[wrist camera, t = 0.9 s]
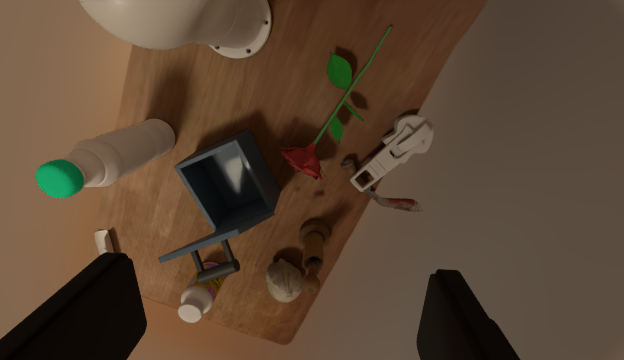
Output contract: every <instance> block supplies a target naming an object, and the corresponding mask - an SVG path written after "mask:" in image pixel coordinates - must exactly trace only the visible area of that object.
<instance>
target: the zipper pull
mask: <svg viewBox="0 0 624 360" xmlns="http://www.w3.org/2000/svg"><path fill="white" fill-rule="evenodd" d="M433 132H434V130H433V125H432V122H431V121H430V120H429V119H427V118H424V117H422V116H419V115H405V116H402V117H399V118H397V119H396V121H395V124H394V130H393V131H392V132H391V133H390V134H388V135H386V136H384V137H382V139H381V140H382V141H383V142H384V144H385V145H386V146H385V147H384V148H383V149H381V150H380V151H379V152H378V153H377V154H376V155H375V156H374V157H373V158H371V159H370V160H369V161H368V162H367V163H366V164H365V165H364V166H363V167H362V168H360V169H359V170H358V171H357V172H356V173H355V174H354V175H353V176H352V177H351V178H350V180H351V182H352V183H353V185H354V186H355V187H356V188H357V189H358V190H359V191H360V192H363V191H364V190H365V189H367V188H368V187H369V186H371V185H372V184H373V183H375V182H376V181H377V180H378V179H380V178H381V177H382V176H384V175H385V174H386V173H388V172H389V171H390V170H392V169H393V168H394V167H395V166H397V165H398V164H399V163H406V161H407V160H408V158H409V157H410V156H411V155H412V154H413V153H425V152H426V151H427V150H428V148H429V147H430V145H431V142H432V139H433ZM390 151H391V152H392V153H393V154H394V155H395V156H396V157H397V158H394V157H393V156H392V155H391V154H390ZM365 169H366V170H367V171H368V172H369V173H370V174H371V175H372V176H373V179H372V180H370V181H369V182H368V183H367V184H365V185H364V186H363V187H361V186H360V185H359V184H358V183H357V181H356V180H355V178H356V177H357V176H359V175H360V174H361V173H362V172H363V171H364V170H365Z"/></svg>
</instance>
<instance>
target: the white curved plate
mask: <svg viewBox="0 0 624 360" xmlns="http://www.w3.org/2000/svg"><path fill="white" fill-rule="evenodd" d="M95 241H96V245H97V248H98V251H99V254H100V255H101V254H103V253H106V252H111V253H114V250H113V246H112V243H111V240H110V236H109V233H108V231H107V230H103V231H98V232H95Z"/></svg>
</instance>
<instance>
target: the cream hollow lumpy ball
mask: <svg viewBox="0 0 624 360" xmlns="http://www.w3.org/2000/svg"><path fill="white" fill-rule="evenodd" d="M266 274H267V275H266V277H265V278H266V282H267V287H268V291H269V292H270V294H271V295H272V297H274V298H275V299H276V300H277V301H279V302H290V301H292V300H294V299H295V298H297V297H298V295H299V294H300V293H301V292H302V289H303V287H302V282H303V279H302V276H301V272H300V270H299V269H297V268H296V267H294V266H293V265H292V264H291V263H289V262H286V261H285V260H284V259H282V258H280V259H279V261H278V262H275V263H272V264H270V265H269V266H268V270H267V271H266Z"/></svg>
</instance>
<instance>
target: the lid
mask: <svg viewBox="0 0 624 360" xmlns="http://www.w3.org/2000/svg"><path fill="white" fill-rule="evenodd" d="M273 215H274V212H273V211H271V212H268V213H265V214H263V215H260V216H257V217H255V218H252V219H249V220H247V221H244V222H241V223H239V224H236V225H233V226H231V227H228V228H225V229H223V230H220V231H217V232H214V233H212V234H210V235H208V236H206V237H203V238H201V239H199V240H197V241H195V242H192V243H190V244H188V245H186V246H183V247H181V248H179V249H177V250H175V251H172V252H170V253H168V254H166V255H164V256H161V257H159V261H160V263H162V262H165V261H168V260H171V259H173V258H176V257H179V256H182V255H184V254H187V253H190V252H191V254H192V257H193V260H194V262H195V265H196V268H197V271H198V273H197V280H198V282H199V283H201V284H202V283H205V282H208V281H211V280H214V279H217V278H220V277H223V276H226V275H229V274H232V273H235V272H238V271H239V270H240V264H239V262H238V260H237V259H234V256H233V254H232V251H231V248H230V246H229V243H228V240H227V239H228V238H231V237H234V236H236V235H239V234H241V233H243V232H244V231H246V230H248V229H250V228H252V227H253V226H255V225H257V224H259V223H261V222H262V221H264V220H266V219H268V218H270V217H271V216H273ZM220 241H221V243H222V246H223V249H224V251H225V254H226V257H227V259H228V261H227V262H224V263H221V264H218V265H216V266H213V267H210V268H207V269H204V267H203V264H202V261H201V259H200V256H199V253H198V251H197V250H198V249H201V248H203V247H206V246H209V245H212V244H214V243H217V242H220Z"/></svg>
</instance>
